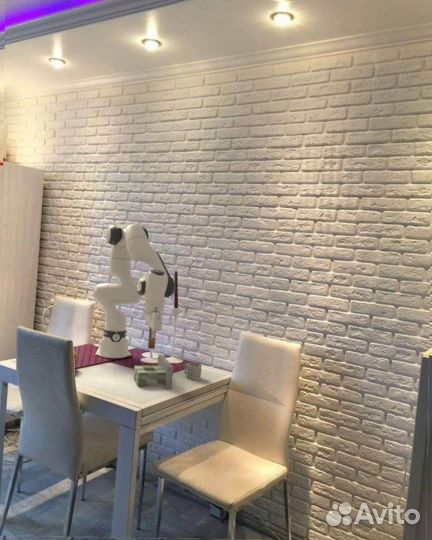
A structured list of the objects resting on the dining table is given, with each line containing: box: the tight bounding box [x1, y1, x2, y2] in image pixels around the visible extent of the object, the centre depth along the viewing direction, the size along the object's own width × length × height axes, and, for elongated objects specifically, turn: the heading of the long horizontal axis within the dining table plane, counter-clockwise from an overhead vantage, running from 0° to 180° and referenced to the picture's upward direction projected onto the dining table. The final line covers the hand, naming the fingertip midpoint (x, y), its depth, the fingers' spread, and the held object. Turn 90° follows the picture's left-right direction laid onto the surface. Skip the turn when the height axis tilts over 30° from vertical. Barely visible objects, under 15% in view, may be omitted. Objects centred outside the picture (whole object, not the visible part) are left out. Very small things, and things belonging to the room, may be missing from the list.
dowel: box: [147, 326, 156, 350], centre depth 218 cm, size 3×3×10 cm
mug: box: [183, 362, 202, 381], centre depth 232 cm, size 10×7×7 cm, turn 46°
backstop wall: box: [157, 354, 174, 391], centre depth 221 cm, size 22×2×10 cm, turn 19°
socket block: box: [133, 365, 166, 388], centre depth 219 cm, size 12×12×6 cm
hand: (152, 336), depth 218 cm, fingers closed on dowel, 3 cm apart
